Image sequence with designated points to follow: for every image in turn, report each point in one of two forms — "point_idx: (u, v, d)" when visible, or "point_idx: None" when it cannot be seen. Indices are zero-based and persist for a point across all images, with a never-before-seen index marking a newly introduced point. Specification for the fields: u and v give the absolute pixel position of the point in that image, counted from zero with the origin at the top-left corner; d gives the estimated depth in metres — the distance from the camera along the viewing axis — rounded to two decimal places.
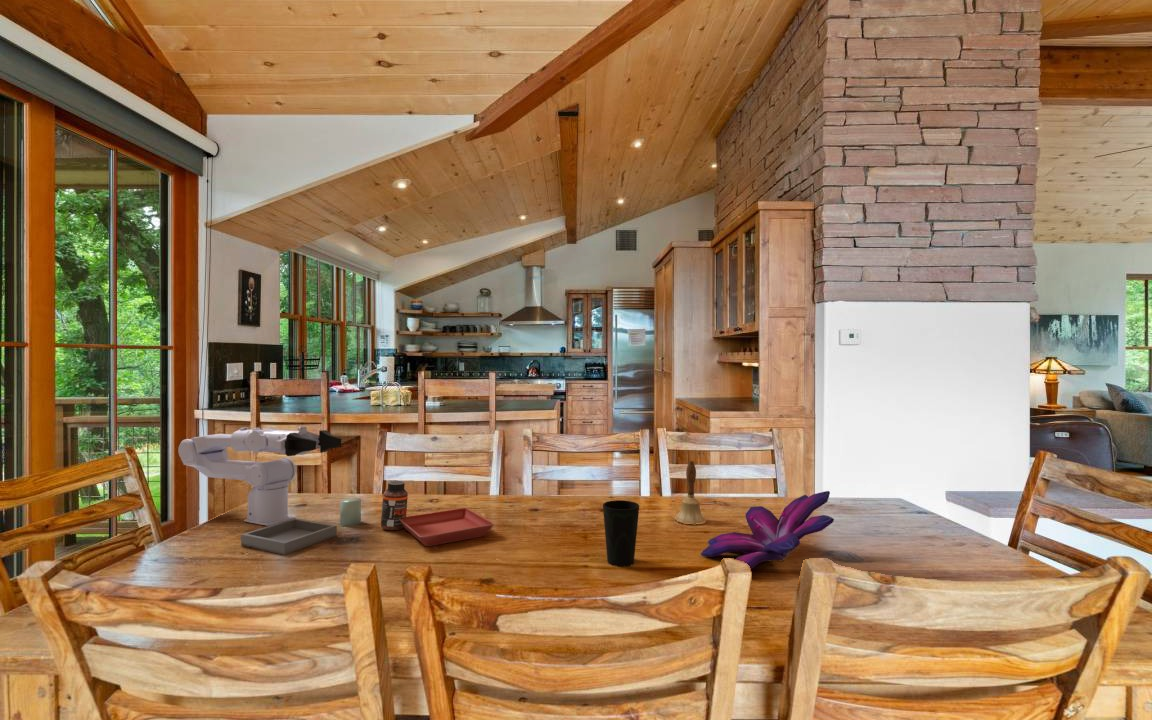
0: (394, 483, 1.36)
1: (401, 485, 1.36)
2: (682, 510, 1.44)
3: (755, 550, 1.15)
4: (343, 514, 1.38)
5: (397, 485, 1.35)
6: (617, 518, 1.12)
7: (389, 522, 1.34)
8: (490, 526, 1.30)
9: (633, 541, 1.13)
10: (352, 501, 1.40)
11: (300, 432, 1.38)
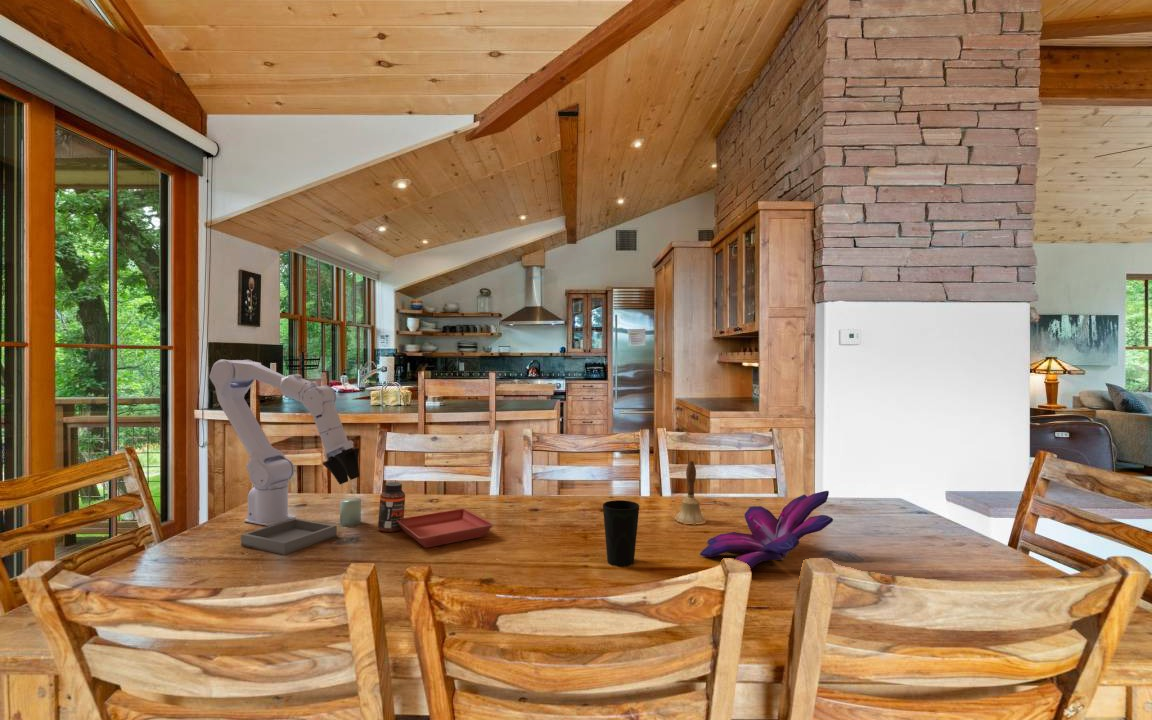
0: (391, 484, 1.35)
1: (398, 486, 1.35)
2: (682, 510, 1.44)
3: (754, 550, 1.15)
4: (343, 514, 1.38)
5: (394, 486, 1.34)
6: (617, 518, 1.12)
7: (386, 524, 1.33)
8: (489, 526, 1.30)
9: (633, 541, 1.13)
10: (352, 501, 1.40)
11: None
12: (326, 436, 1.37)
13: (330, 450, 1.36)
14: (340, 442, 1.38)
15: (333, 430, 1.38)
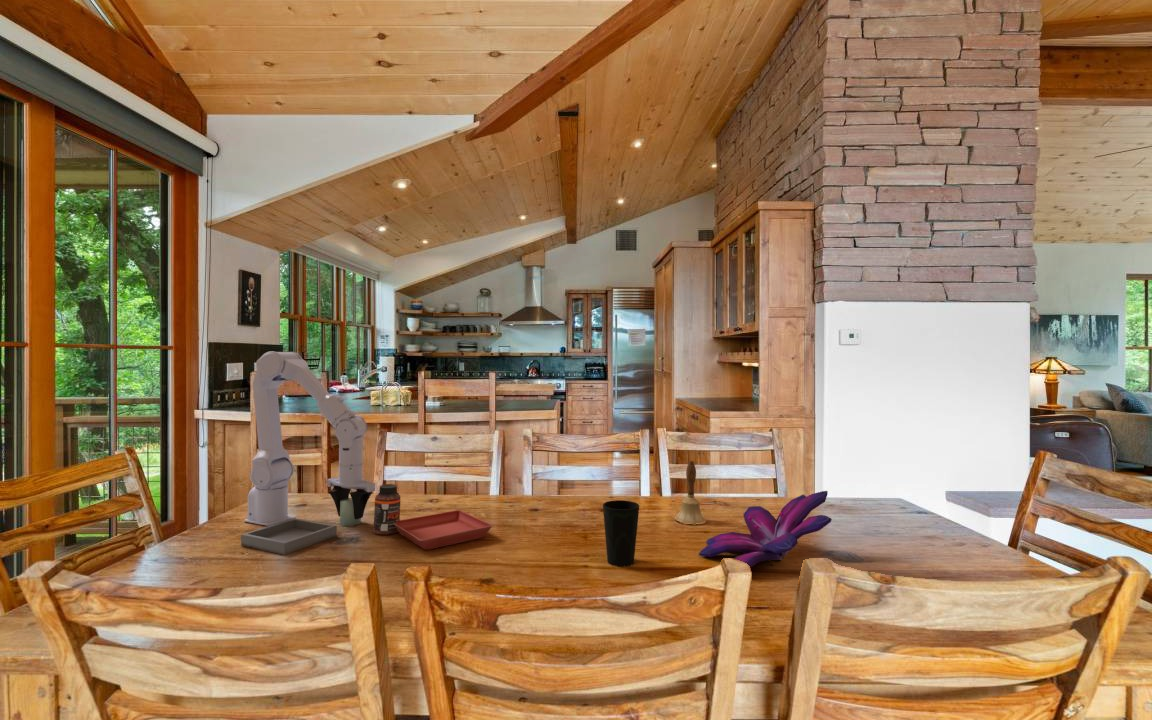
0: (386, 486, 1.33)
1: (394, 488, 1.33)
2: (682, 510, 1.44)
3: (753, 550, 1.15)
4: (343, 514, 1.38)
5: (390, 488, 1.32)
6: (617, 518, 1.12)
7: (382, 526, 1.31)
8: (489, 527, 1.29)
9: (633, 541, 1.13)
10: (352, 501, 1.40)
11: None
12: (349, 470, 1.38)
13: (348, 485, 1.38)
14: (359, 480, 1.40)
15: (357, 466, 1.39)
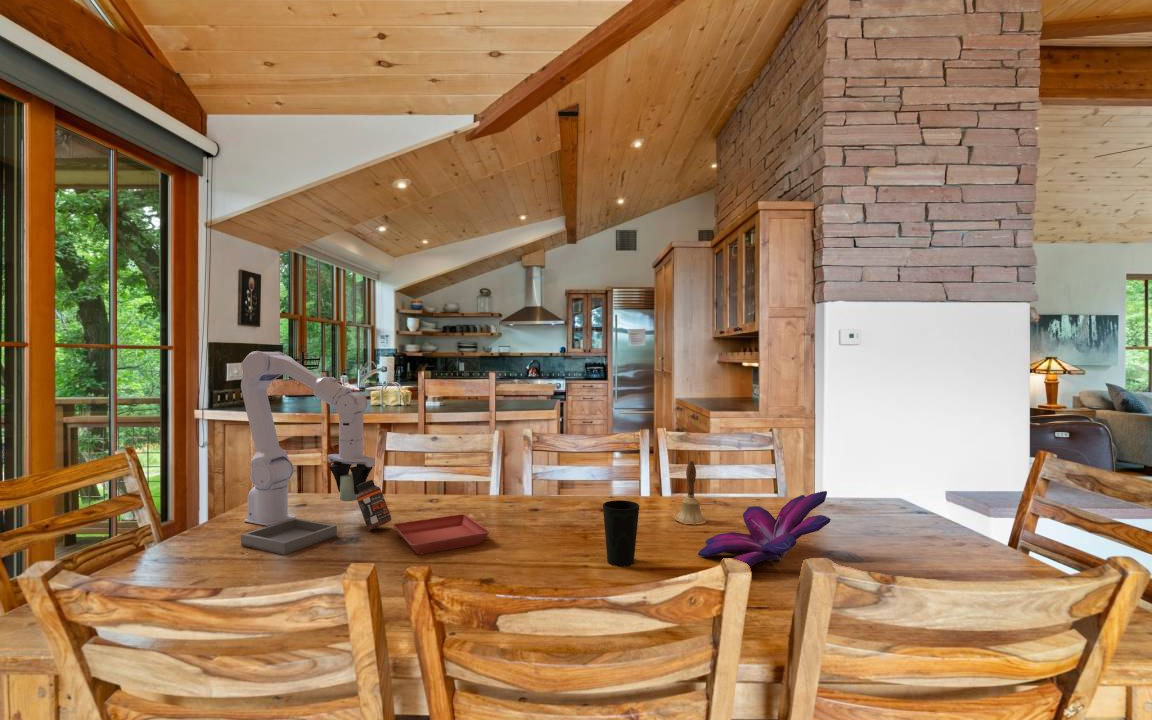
0: (362, 483, 1.35)
1: (369, 481, 1.35)
2: (682, 510, 1.44)
3: (752, 550, 1.15)
4: (343, 489, 1.38)
5: (365, 482, 1.35)
6: (617, 518, 1.12)
7: (372, 519, 1.32)
8: (485, 534, 1.25)
9: (633, 541, 1.13)
10: (352, 476, 1.40)
11: None
12: (349, 445, 1.38)
13: (348, 460, 1.38)
14: (359, 455, 1.40)
15: (357, 442, 1.39)
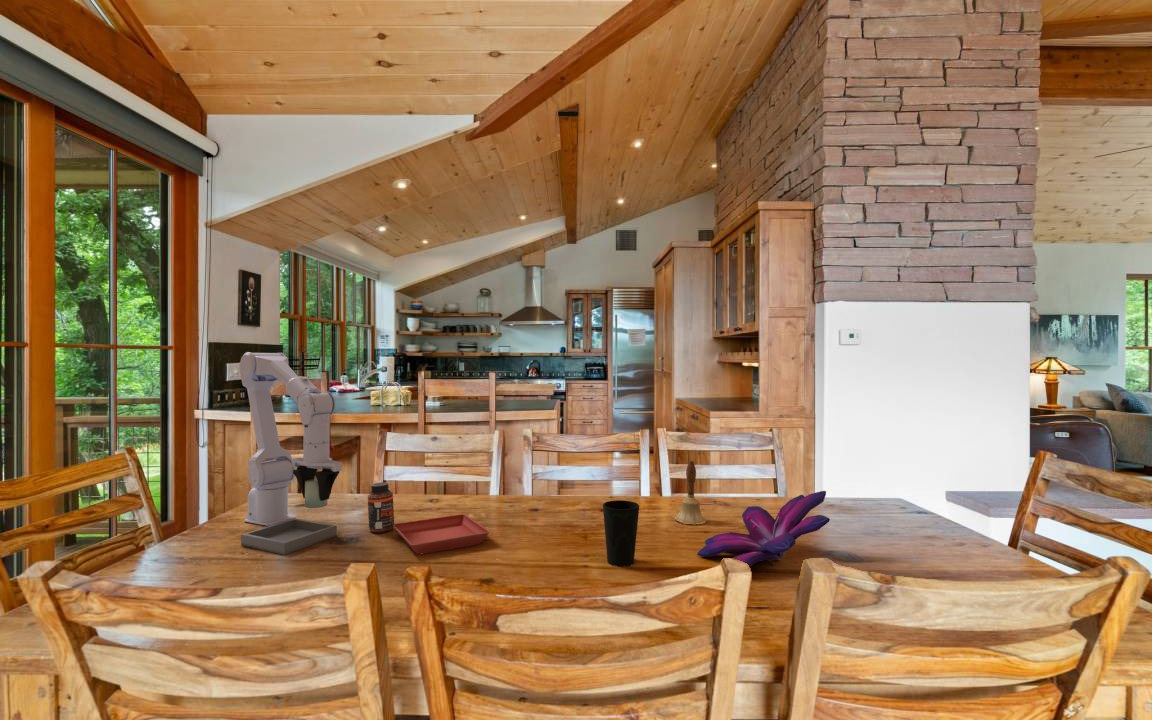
0: (377, 485, 1.34)
1: (385, 486, 1.34)
2: (682, 510, 1.44)
3: (751, 550, 1.15)
4: (308, 495, 1.30)
5: (381, 486, 1.33)
6: (617, 518, 1.12)
7: (377, 524, 1.32)
8: (485, 534, 1.25)
9: (633, 541, 1.13)
10: None
11: None
12: (314, 449, 1.30)
13: (313, 464, 1.29)
14: (325, 459, 1.31)
15: (323, 445, 1.31)
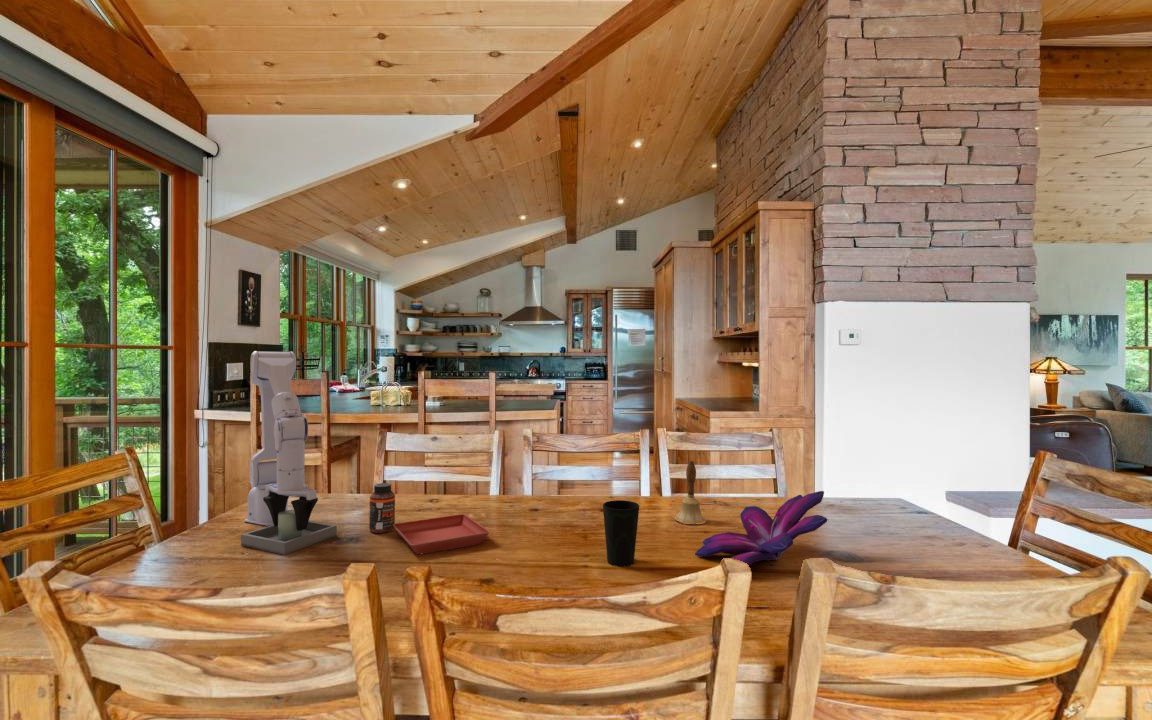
0: (380, 485, 1.34)
1: (388, 487, 1.34)
2: (682, 510, 1.44)
3: (749, 550, 1.15)
4: (281, 528, 1.25)
5: (384, 487, 1.34)
6: (617, 518, 1.12)
7: (377, 525, 1.32)
8: (485, 534, 1.25)
9: (633, 541, 1.13)
10: (291, 514, 1.26)
11: None
12: (287, 476, 1.24)
13: (286, 492, 1.24)
14: (299, 486, 1.26)
15: (297, 471, 1.25)
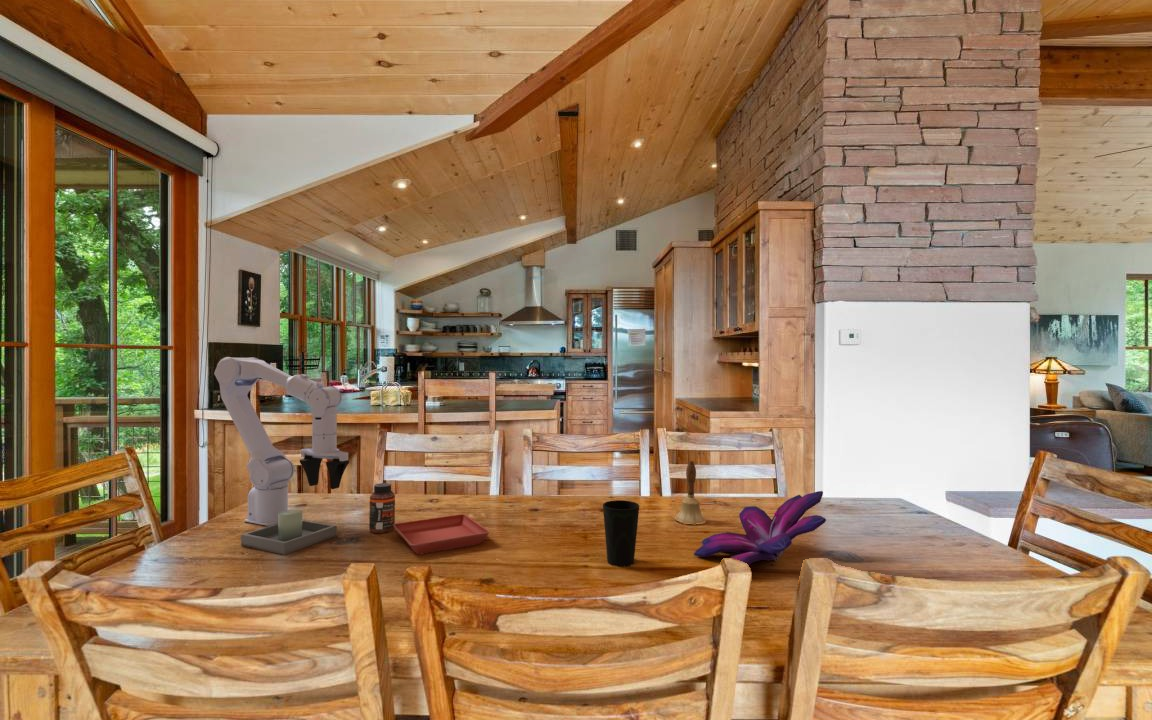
0: (380, 485, 1.34)
1: (388, 487, 1.34)
2: (682, 510, 1.44)
3: (748, 550, 1.15)
4: (281, 528, 1.25)
5: (384, 487, 1.34)
6: (617, 518, 1.12)
7: (377, 525, 1.32)
8: (485, 534, 1.25)
9: (633, 541, 1.13)
10: (291, 514, 1.26)
11: None
12: (322, 440, 1.38)
13: (321, 454, 1.37)
14: (332, 449, 1.39)
15: (330, 436, 1.39)
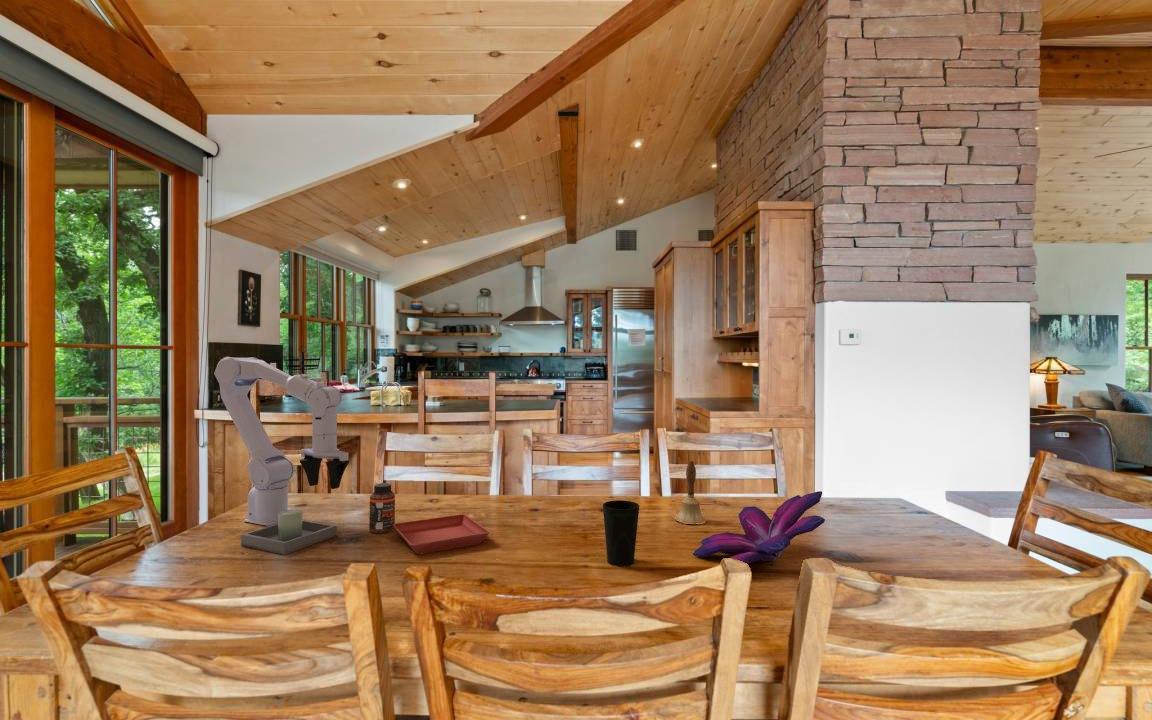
0: (380, 485, 1.34)
1: (388, 487, 1.34)
2: (682, 510, 1.44)
3: (747, 550, 1.15)
4: (281, 528, 1.25)
5: (384, 487, 1.34)
6: (617, 518, 1.12)
7: (377, 525, 1.32)
8: (485, 534, 1.25)
9: (633, 541, 1.13)
10: (291, 514, 1.26)
11: None
12: (322, 440, 1.38)
13: (321, 454, 1.37)
14: (332, 449, 1.39)
15: (330, 436, 1.39)
